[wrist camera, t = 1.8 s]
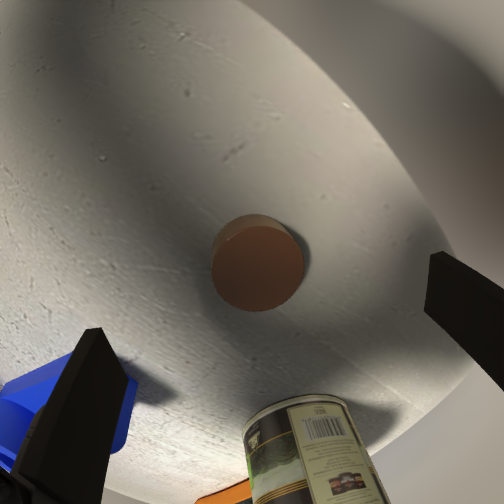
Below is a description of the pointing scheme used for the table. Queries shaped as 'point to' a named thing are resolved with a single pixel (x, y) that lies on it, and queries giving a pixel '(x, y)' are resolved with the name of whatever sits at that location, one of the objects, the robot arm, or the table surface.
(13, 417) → the bracket
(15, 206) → the table surface
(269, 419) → the coffee can
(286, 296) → the brown short cylinder
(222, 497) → the multimeter
